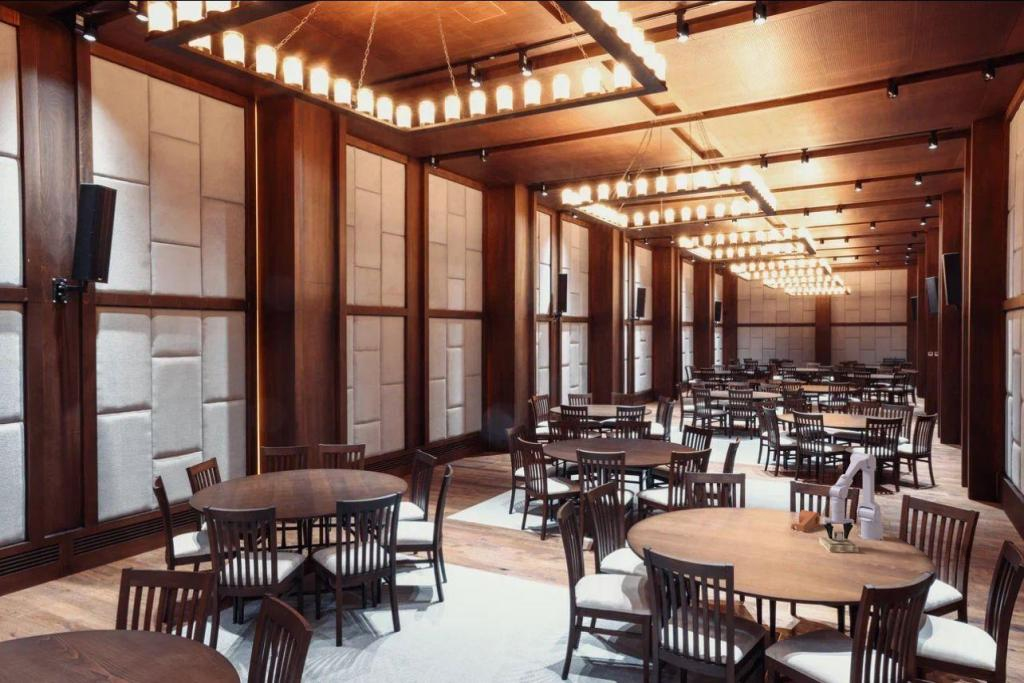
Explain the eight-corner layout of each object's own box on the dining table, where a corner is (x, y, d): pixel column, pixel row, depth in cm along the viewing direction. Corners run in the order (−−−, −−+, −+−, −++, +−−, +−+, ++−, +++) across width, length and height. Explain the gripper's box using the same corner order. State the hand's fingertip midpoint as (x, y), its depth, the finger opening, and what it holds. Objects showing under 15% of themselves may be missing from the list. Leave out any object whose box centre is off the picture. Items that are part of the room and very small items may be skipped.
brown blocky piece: (805, 523, 377) (805, 508, 376) (819, 526, 371) (819, 511, 371) (788, 530, 363) (788, 515, 363) (803, 533, 357) (803, 518, 357)
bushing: (844, 547, 332) (844, 532, 332) (837, 547, 332) (837, 533, 332) (839, 544, 336) (839, 530, 336) (832, 545, 336) (832, 531, 336)
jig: (846, 543, 338) (846, 536, 338) (858, 552, 324) (858, 545, 324) (819, 543, 339) (819, 536, 339) (829, 552, 325) (829, 544, 325)
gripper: (848, 508, 338) (848, 536, 339) (819, 508, 338) (819, 536, 338) (856, 512, 331) (856, 540, 332) (826, 512, 331) (826, 540, 331)
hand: (838, 538), depth 334 cm, fingers open, 7 cm apart
